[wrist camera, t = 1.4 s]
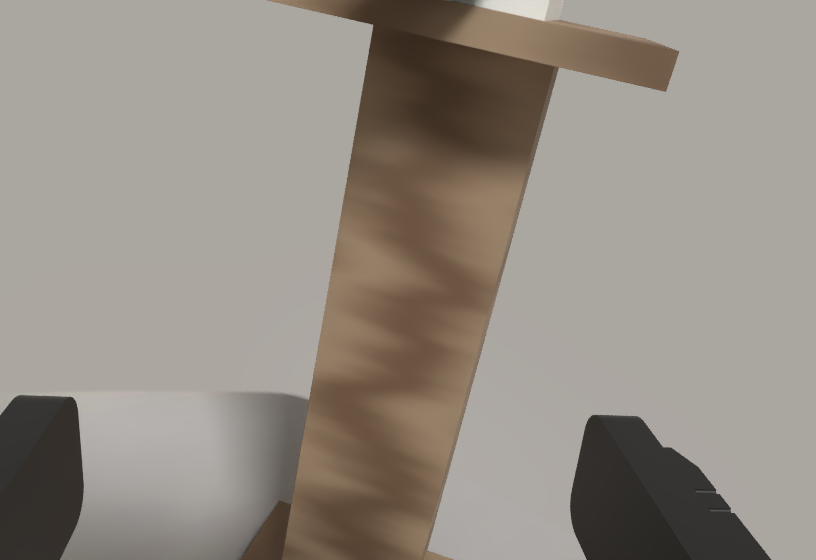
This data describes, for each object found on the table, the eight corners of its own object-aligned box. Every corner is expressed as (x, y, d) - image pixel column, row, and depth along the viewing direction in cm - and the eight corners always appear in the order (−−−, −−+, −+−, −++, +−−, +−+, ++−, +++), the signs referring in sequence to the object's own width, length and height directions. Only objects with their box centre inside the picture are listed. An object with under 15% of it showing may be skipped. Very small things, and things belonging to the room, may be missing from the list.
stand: (164, 698, 31) (237, -46, 20) (275, 520, 42) (364, -23, 30) (428, 802, 29) (679, 51, 18) (473, 588, 40) (645, 38, 29)
